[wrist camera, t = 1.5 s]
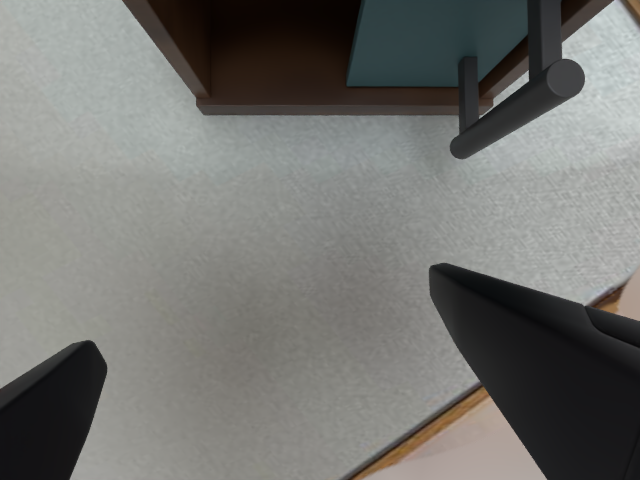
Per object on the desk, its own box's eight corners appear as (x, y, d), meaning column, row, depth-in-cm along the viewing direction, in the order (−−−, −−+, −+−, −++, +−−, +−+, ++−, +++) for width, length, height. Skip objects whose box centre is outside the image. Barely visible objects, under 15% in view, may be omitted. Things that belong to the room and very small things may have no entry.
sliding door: (476, 167, 22) (655, 81, 10) (347, 168, 21) (387, 80, 10) (474, 75, 22) (648, -108, 11) (345, 75, 21) (384, -114, 10)
